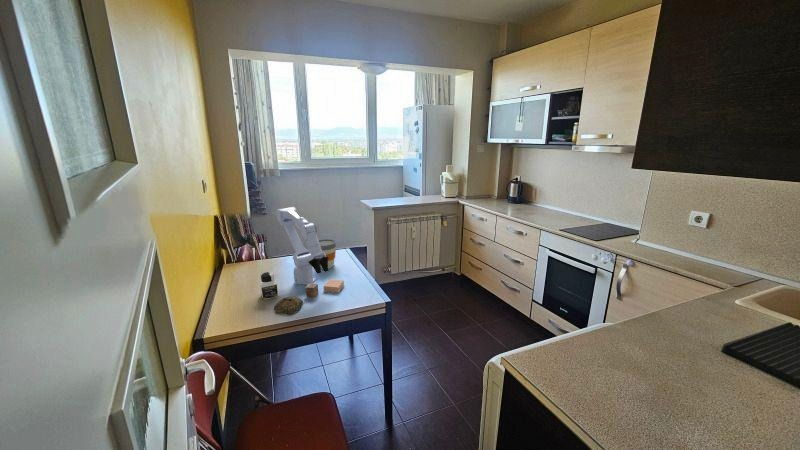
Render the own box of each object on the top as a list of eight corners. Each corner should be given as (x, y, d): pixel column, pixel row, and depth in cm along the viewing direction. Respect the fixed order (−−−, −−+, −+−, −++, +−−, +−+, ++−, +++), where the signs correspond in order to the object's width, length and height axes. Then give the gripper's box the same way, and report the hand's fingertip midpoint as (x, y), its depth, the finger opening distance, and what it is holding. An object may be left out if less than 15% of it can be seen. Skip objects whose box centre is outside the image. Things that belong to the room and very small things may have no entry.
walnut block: (306, 297, 165) (305, 287, 163) (310, 293, 169) (309, 283, 167) (314, 298, 164) (313, 287, 162) (318, 293, 168) (317, 283, 167)
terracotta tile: (323, 291, 170) (323, 286, 170) (329, 284, 178) (329, 279, 177) (338, 292, 169) (338, 287, 168) (344, 285, 176) (343, 280, 176)
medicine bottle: (263, 300, 162) (260, 277, 158) (261, 294, 168) (258, 272, 165) (278, 296, 165) (275, 274, 162) (276, 291, 171) (273, 269, 168)
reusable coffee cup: (316, 262, 207) (314, 240, 203) (336, 260, 210) (334, 238, 206) (316, 270, 195) (314, 246, 191) (337, 268, 198) (336, 245, 194)
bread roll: (306, 302, 160) (305, 293, 158) (294, 316, 148) (293, 306, 147) (282, 300, 162) (281, 291, 161) (268, 313, 150) (267, 304, 149)
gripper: (314, 244, 158) (323, 271, 156) (327, 243, 172) (336, 268, 171) (301, 249, 159) (310, 276, 158) (316, 248, 174) (324, 272, 172)
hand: (323, 272), depth 164 cm, fingers open, 7 cm apart
